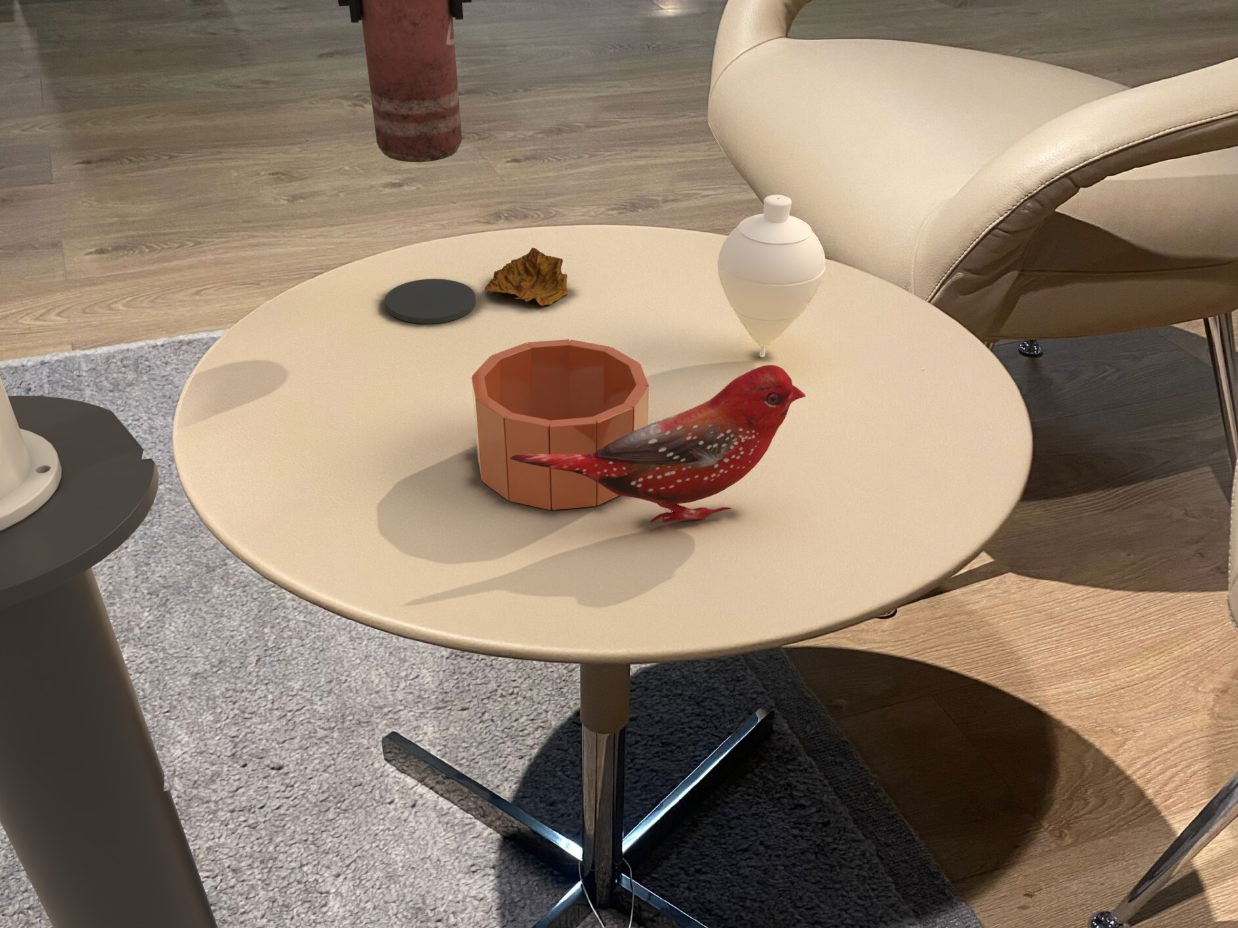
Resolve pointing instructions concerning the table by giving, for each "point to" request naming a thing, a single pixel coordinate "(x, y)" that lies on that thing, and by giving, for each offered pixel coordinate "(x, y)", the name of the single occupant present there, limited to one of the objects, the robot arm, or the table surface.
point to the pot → (553, 416)
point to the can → (412, 78)
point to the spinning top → (771, 270)
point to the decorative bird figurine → (690, 446)
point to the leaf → (531, 278)
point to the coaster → (430, 301)
